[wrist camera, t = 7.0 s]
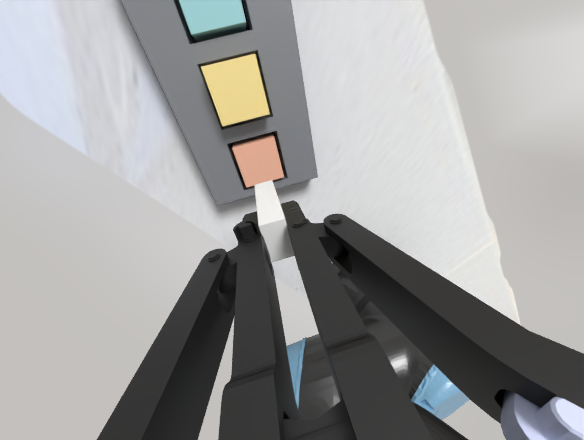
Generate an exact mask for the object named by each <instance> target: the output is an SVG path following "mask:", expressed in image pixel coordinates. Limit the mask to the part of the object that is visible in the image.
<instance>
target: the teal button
mask: <svg viewBox="0 0 584 440" xmlns="http://www.w3.org/2000/svg"><path fill="white" fill-rule="evenodd" d="M179 2H180V5H181V8H182V10H183V13H184V16H185V19H186V21H187V24H188V27H189V30H190V33H191V35H192V36H193V37H194V38H195V40H196V41H197V42H201V41H205V40H209V39H214V38H218V37H222V36H226V35H231V34H235V33H239V32H243V31H246V19H245V15H244V11H243V7H242V3H241V0H179Z"/></svg>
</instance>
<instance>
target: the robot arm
mask: <svg viewBox="0 0 584 440" xmlns="http://www.w3.org/2000/svg"><path fill="white" fill-rule="evenodd" d="M254 186H255V195H256V205H257V211H256V212H253V213H249V214H246V215H245V216H244V218H243V222H240V223H239V224H237V225H236V226H235V227H234V229H233V231H234V233H235V235H236V238H237V240H238V246H237V247H236V248H234V249H232V250H230V251H228V252H226V251H225V250H224V249H215V250H212V251H210V252H209V253H207V254H206V255H205V256H204V257H203V259H202V260H201V262H200V264H199V265H198V267H197V269H196V270H195V272H194V274H193V276H192V277H191V279H190V281H189V282H188V284H187V286H186V288H185V289H184V291H183V293H182V295H181V296H180V298H179V300H178V301H177V303H176V305H175V306H174V308H173V310H172V312H171V313H170V315H169V317H168V319H167V320H166V322H165V324H164V325H163V327H162V329H161V331H160V332H159V334H158V336H157V338H156V339H155V341H154V343H153V344H152V346H151V348H150V349H149V351H148V353H147V355H146V356H145V358H144V360H143V361H142V363H141V365H140V367H139V368H138V370H137V372H136V373H135V375H134V377H133V379H132V380H131V382H130V384H129V385H128V387H127V389H126V391H125V392H124V394H123V396H122V397H121V399H120V401H119V403H118V404H117V406H116V408H115V410H114V411H113V413H112V415H111V416H110V418H109V420H108V421H107V423H106V425H105V427H104V428H103V430H102V432H101V433H100V435H99V437H98V439H97V440H198V436H199V433H200V430H201V426H202V423H203V419H204V416H205V413H206V409H207V406H208V402H209V399H210V396H211V393H212V389H213V386H214V382H215V379H216V375H217V372H218V369H219V366H220V362H221V359H222V355H223V352H224V349H225V345H226V342H227V339H228V335H229V332H230V328H231V325H232V322H233V318H234V315H235V318H234V339H233V358H232V375H231V380H230V382H228V383H227V384H226V385H225V387H224V390H223V395H222V402H221V415H220V427H219V439H218V440H468V439H467V438H465V437H464V436H463V435H461V434H460V433H458V432H457V431H456V430H454V429H453V428H452V427H450V426H449V425H447V424H446V423H444V422H443V421H442V420H443V419H444V418H446V417H447V416H449V415H450V414H451V413H453V412H454V411H456V410H457V409H458V408H460V407H461V406H462V405H464V404H465V403H466V402H467V401H468V400H469V399H470V400H471V401H472V402H474V403H475V404H476V405H477V406H479V407H480V408H481V409H482V410H483V411H485V412H486V413H487V414H489V415H490V416H491V417H492V418H494V419H495V420H496V421H498V422H499V423H500V424H501V428H502V430H503V434H504V436H505V438H506V440H584V354H583V353H580V352H578V351H575V350H573V349H571V348H569V347H566V346H564V345H561V344H559V343H557V342H554V341H552V340H549V339H547V338H545V337H542V336H540V335H538V334H535V333H533V332H530V331H528V330H527V329H525V328H524V327H522V326H520V325H519V324H517V323H516V322H514V321H513V320H511V319H509V318H508V317H506V316H505V315H503V314H501V313H500V312H498V311H497V310H495V309H493V308H492V307H490V306H489V305H487V304H485V303H484V302H482V301H481V300H479V299H477V298H476V297H474V296H473V295H471V294H469V293H468V292H466V291H465V290H463V289H462V288H460V287H458V286H457V285H455V284H454V283H452V282H450V281H449V280H447V279H446V278H444V277H442V276H441V275H439V274H438V273H436V272H434V271H433V270H431V269H430V268H428V267H426V266H425V265H423V264H422V263H420V262H418V261H417V260H415V259H414V258H412V257H411V256H409V255H407V254H406V253H404V252H403V251H401V250H399V249H398V248H396V247H395V246H393V245H391V244H390V243H388V242H387V241H385V240H383V239H382V238H380V237H379V236H377V235H375V234H374V233H372V232H371V231H369V230H367V229H366V228H364V227H363V226H361V225H360V224H358V223H356V222H355V221H353V220H352V219H350V218H348V217H347V216H345V215H342V214H332V215H329V216H327V217H326V218H325V219H324V223H310V221H309V220H308V219H306V218H305V216H304V214H303V212H302V210H301V208H300V207H299V204H298V203H297V202H295V201H289V202H286V203H282V204H280V202H279V199H278V196H277V193H276V190H275V187H274V184H273V181H272V180H270V181H267V182H263V183H259V184H256V185H254ZM291 256H295V258H296V261H297V265H298V269H299V271H300V274H301V277H302V280H303V284H304V287H305V290H306V293H307V296H308V299H309V302H310V306H311V309H312V312H313V315H314V318H315V322H316V325H317V328H318V331H319V334H318V335H315V336H312V337H309V338H303V340H301V341H298V342H296V343H293V344H291V345H288V346H286V342H285V336H284V330H283V324H282V318H281V312H280V306H279V300H278V294H277V288H276V282H275V276H274V270H273V266H272V264H271V261H272V262H275V261H278V260H281V259H285V258H288V257H291ZM329 258H330V259H329ZM330 260H331V261H332V262H333V264H332V263H331V261H330Z"/></svg>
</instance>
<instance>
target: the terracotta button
mask: <svg viewBox="0 0 584 440" xmlns="http://www.w3.org/2000/svg"><path fill="white" fill-rule="evenodd" d="M232 149H233V152H234V155H235V157H236V160H237V163H238V166H239V168H240V171H241V174H242V177H243V179H244V182H245V185H246V188H247V187H250V186H254V185H256V184H259V183H263V182H267V181H270V180H276V179H279V178H283V177H284V174H283V170H282V166H281V162H280V158H279V154H278V150H277V146H276V142H275V138H274V136H273V135H272V133H270V134H266V135H263V136H259V137H255V138H251V139H248V140H244V141H240V142H236V143H233V147H232Z"/></svg>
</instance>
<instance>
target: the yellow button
mask: <svg viewBox="0 0 584 440" xmlns="http://www.w3.org/2000/svg"><path fill="white" fill-rule="evenodd" d="M201 69H202V71H203V74H204V77H205V80H206V82H207V85H208V88H209V91H210V93H211V96H212V99H213V102H214V104H215V107H216V110H217V112H218V115H219V118H220V121H221V123H222V126H226V125H230V124H234V123H238V122H241V121H245V120H249V119H253V118H257V117H261V116H264V115H268V114H270V113H269V108H268V104H267V100H266V96H265V92H264V88H263V84H262V80H261V75H260V71H259V67H258V63H257V59H256V55H255V54H251V55H247V56H243V57H239V58H235V59H231V60H227V61H223V62H218V63H214V64H210V65H206V66H202V67H201Z"/></svg>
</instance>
